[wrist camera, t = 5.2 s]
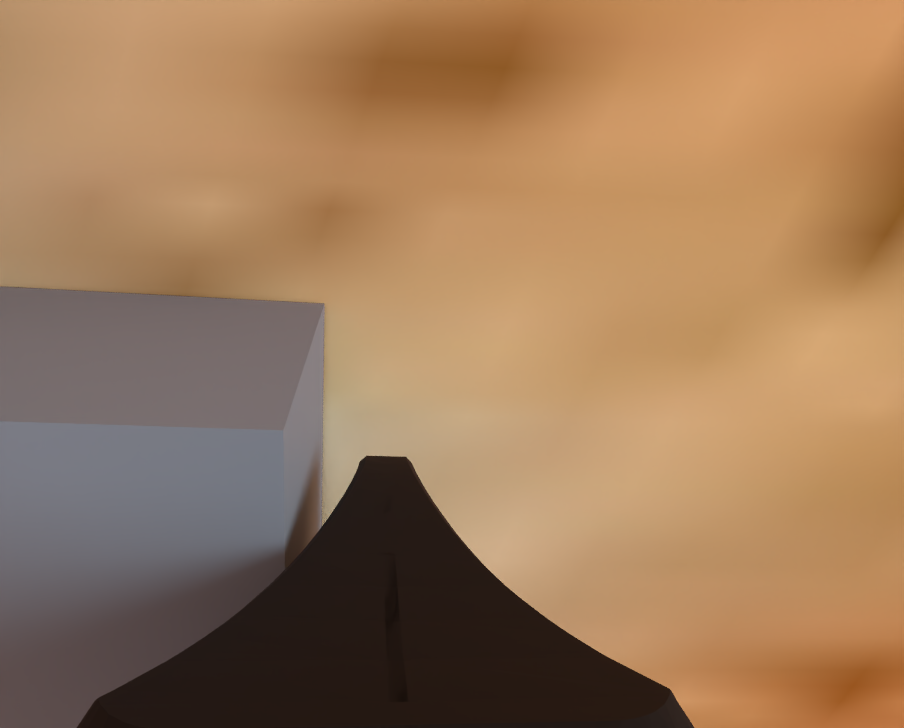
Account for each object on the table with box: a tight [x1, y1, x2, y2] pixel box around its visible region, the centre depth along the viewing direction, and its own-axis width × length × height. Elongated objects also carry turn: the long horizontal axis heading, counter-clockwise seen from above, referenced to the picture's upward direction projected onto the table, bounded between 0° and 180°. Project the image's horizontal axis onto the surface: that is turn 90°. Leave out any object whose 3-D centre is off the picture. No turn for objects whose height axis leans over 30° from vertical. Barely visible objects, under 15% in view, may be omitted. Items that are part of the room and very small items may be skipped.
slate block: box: [0, 287, 324, 728], centre depth 10 cm, size 6×6×5 cm
